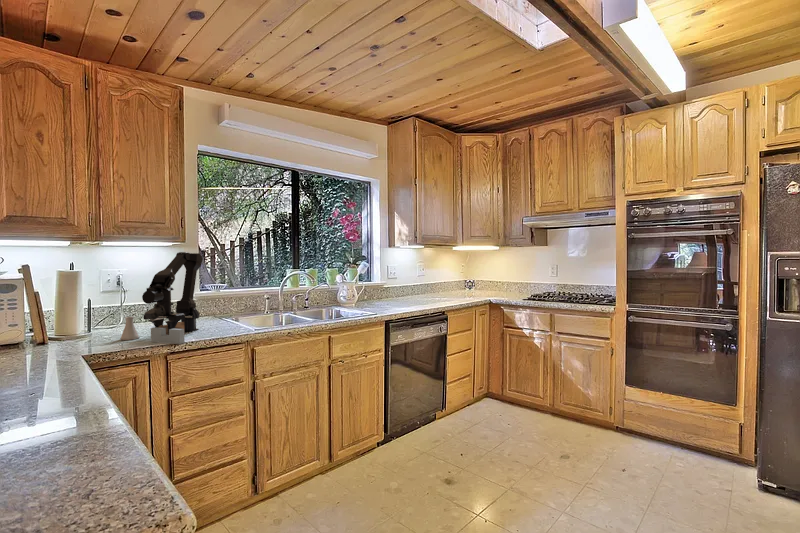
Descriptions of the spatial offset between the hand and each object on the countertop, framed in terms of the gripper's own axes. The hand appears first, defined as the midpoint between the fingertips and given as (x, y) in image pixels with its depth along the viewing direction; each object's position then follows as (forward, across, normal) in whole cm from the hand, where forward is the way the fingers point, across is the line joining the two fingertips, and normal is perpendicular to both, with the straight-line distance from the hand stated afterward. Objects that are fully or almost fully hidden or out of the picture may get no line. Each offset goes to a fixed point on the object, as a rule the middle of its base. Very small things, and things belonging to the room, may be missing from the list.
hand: (164, 335), depth 189 cm
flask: (+2, -15, -5) cm, 16 cm away
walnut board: (+2, 0, +4) cm, 4 cm away
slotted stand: (+2, +8, -6) cm, 10 cm away
